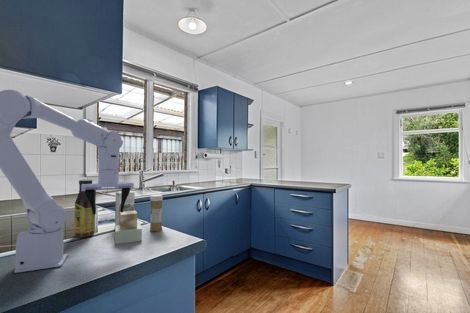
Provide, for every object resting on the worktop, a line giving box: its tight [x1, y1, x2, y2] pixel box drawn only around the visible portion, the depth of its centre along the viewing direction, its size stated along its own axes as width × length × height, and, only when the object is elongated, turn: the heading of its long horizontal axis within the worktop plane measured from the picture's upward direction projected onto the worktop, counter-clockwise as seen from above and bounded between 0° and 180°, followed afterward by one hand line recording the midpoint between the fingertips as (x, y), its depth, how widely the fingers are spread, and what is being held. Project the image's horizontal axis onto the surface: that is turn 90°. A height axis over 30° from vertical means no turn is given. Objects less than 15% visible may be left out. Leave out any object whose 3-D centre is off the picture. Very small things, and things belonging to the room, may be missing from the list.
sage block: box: [114, 222, 143, 245], centre depth 85 cm, size 8×8×4 cm
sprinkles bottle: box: [149, 194, 164, 232], centre depth 96 cm, size 5×5×14 cm
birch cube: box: [120, 209, 138, 230], centre depth 85 cm, size 5×5×5 cm
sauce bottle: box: [73, 178, 96, 239], centre depth 89 cm, size 7×6×20 cm
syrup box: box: [114, 189, 135, 228], centre depth 98 cm, size 6×6×14 cm
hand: (108, 212), depth 78 cm, fingers open, 7 cm apart
